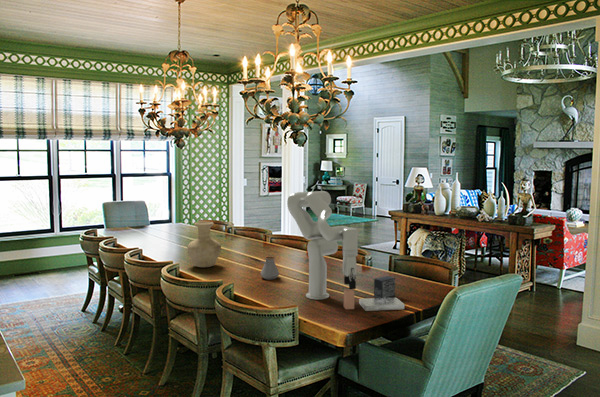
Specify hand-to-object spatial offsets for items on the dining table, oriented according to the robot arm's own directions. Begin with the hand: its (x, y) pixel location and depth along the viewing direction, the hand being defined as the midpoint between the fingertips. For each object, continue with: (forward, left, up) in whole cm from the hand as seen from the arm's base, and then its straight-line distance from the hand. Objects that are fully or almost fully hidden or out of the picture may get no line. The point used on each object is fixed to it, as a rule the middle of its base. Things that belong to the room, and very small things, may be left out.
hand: (349, 286), depth 245 cm
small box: (-16, +24, -11) cm, 31 cm away
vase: (-100, -75, -11) cm, 126 cm away
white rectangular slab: (0, +17, -11) cm, 20 cm away
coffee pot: (-61, -38, -11) cm, 73 cm away
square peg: (0, 0, -11) cm, 11 cm away
